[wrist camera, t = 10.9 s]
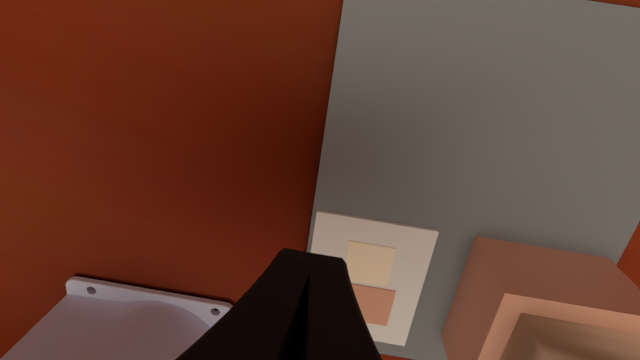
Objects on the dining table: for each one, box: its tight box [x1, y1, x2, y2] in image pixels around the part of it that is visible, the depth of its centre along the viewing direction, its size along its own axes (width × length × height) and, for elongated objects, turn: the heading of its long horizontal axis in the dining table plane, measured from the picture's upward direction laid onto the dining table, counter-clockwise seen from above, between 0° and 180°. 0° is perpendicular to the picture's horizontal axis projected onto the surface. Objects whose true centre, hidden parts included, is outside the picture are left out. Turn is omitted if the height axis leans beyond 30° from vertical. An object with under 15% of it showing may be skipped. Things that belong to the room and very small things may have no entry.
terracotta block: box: [441, 236, 640, 360], centre depth 17 cm, size 6×6×4 cm
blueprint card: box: [311, 210, 439, 346], centre depth 19 cm, size 6×7×1 cm
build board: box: [307, 0, 640, 360], centre depth 18 cm, size 14×18×1 cm
